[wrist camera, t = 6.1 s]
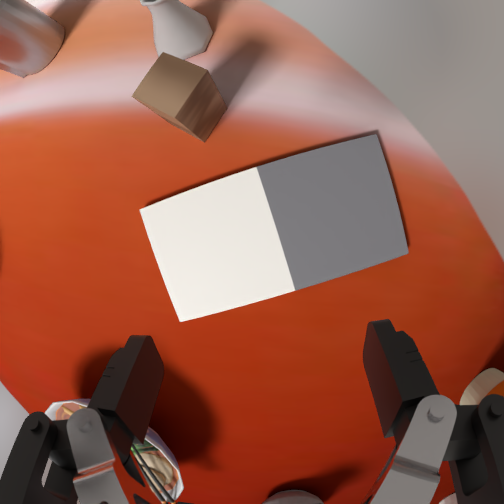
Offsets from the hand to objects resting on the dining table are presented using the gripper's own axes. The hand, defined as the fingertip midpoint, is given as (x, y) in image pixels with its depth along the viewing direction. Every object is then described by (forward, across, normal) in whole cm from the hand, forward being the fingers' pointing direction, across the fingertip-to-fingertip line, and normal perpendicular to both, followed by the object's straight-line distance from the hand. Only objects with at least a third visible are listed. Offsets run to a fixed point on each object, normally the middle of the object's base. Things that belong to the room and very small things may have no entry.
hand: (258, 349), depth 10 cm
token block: (+24, +6, -8) cm, 26 cm away
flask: (+28, +7, -19) cm, 34 cm away
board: (+20, -1, +4) cm, 21 cm away
